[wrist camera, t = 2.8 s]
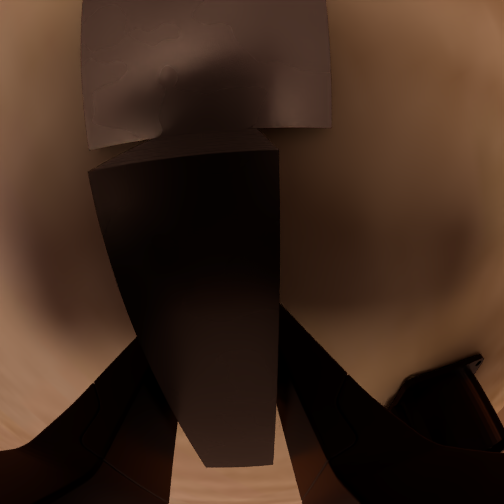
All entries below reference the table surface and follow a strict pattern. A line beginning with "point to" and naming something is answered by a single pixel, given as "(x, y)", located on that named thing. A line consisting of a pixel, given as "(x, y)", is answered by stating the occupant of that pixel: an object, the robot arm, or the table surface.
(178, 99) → the turner
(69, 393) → the table surface
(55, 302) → the table surface
